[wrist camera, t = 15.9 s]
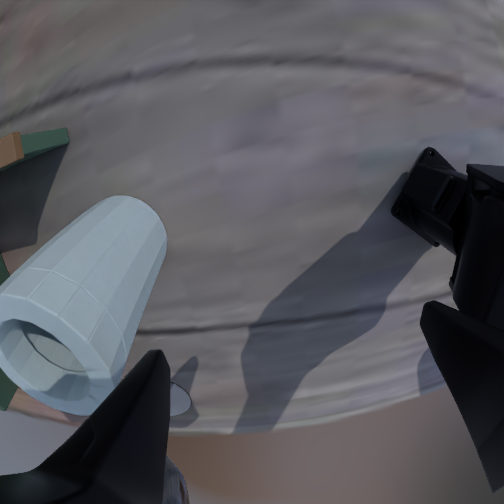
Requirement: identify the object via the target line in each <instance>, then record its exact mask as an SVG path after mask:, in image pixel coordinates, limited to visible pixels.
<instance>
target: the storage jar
mask: <svg viewBox="0 0 504 504" xmlns="http://www.w3.org/2000/svg"><path fill="white" fill-rule="evenodd" d="M166 250H167V235H166V231H165V228H164V225H163V223H162V221H161V219H160V218H159V216H158V215H157V214H156V212H155V211H154V210H153V209H152V208H151V207H150V206H148V205H147V204H146V203H144V202H143V201H141V200H139V199H136V198H134V197H130V196H123V195H119V196H112V197H108V198H106V199H104V200H102V201H100V202H99V203H96V204H95V205H93V206H92V207H91V208H89V209H88V210H87V211H85V212H84V213H83V214H82V215H80V216H79V217H78V218H76V219H75V220H74V221H73V222H71V223H70V224H69V225H68V226H66V227H65V228H64V229H63V230H61V231H60V232H59V233H58V234H56V235H55V236H54V237H53V238H52V239H51V240H49V241H48V242H47V243H46V244H45V245H43V246H42V247H41V248H40V249H39V250H38V251H37V252H36V253H34V254H33V255H32V256H31V257H30V258H29V259H28V260H27V261H26V262H24V263H23V264H22V265H21V266H20V267H19V268H18V269H17V270H16V271H15V272H14V273H13V274H12V275H11V276H10V277H9V278H8V279H7V280H6V281H5V282H4V283H3V284H2V285H1V286H0V368H1V369H2V370H3V371H4V373H5V374H6V375H7V376H8V377H9V378H10V379H11V380H12V381H13V382H14V383H15V384H16V385H18V386H19V387H20V388H21V389H22V390H24V391H25V392H26V393H27V394H29V395H30V396H32V397H33V398H35V399H37V400H39V401H40V402H42V403H44V404H46V405H48V406H50V407H52V408H55V409H57V410H60V411H64V412H67V413H71V414H75V415H91V414H92V413H93V412H94V411H95V410H96V409H97V408H98V406H99V405H100V404H101V403H102V402H103V401H104V400H105V399H106V397H107V396H108V395H109V394H110V393H111V392H112V391H113V390H114V389H115V387H116V386H117V385H118V384H119V382H120V379H121V376H122V373H123V370H124V366H125V363H126V360H127V357H128V354H129V351H130V348H131V345H132V342H133V340H134V337H135V334H136V331H137V328H138V325H139V323H140V320H141V317H142V314H143V312H144V309H145V306H146V304H147V301H148V298H149V296H150V293H151V290H152V288H153V285H154V283H155V280H156V278H157V275H158V273H159V270H160V268H161V265H162V263H163V260H164V258H165V255H166Z"/></svg>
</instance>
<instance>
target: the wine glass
mask: <svg viewBox="0 0 504 504" xmlns="http://www.w3.org/2000/svg"><path fill="white" fill-rule="evenodd" d="M190 405H191V399H190V396H189V395H188V393H187V392H186V391H185V390H184V389H182V388H181V387H179V386H178V385H176V384H174V383H172V382H170V416H174V415H179V414H182V413H184V412H186V411H187V410H188V409H189V407H190ZM163 504H190V503H189V497H188V491H187V487H186V483H185V480H184V477H183V475H182V474H181V472H180V471H179V469H178V468H177V467H176V466H175V464H174V463H173V462H172V461H171V460H170V459H169V458H168V456H167V455H166V463H165V475H164V489H163Z"/></svg>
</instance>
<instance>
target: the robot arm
mask: <svg viewBox="0 0 504 504" xmlns="http://www.w3.org/2000/svg"><path fill="white" fill-rule="evenodd" d="M430 152H431V156H430ZM466 172H467V173H468V176H467V175H464V174H462V173H459V172H457V171H456V170H455V169H454V168H453V167H452V166H451V165H450V164H449V163H448V162H447V161H446V160H445V159H444V158H443V157H442V156H441V155H440V154H439V153H438V152H437V151H436V150H435V149H434V148H431V147H428V148H426V149H425V151H424V153H423V155H422V157H421V158H420V160H419V162H418V164H417V165H416V166H415V168H414V170H413V172H412V173H411V175H410V177H409V179H408V180H407V182H406V184H405V186H404V187H403V190H402V192H401V194H400V195H399V197H398V199H397V200H396V202H395V204H394V205H393V207H392V209H391V213H392V215H393V216H394V217H396V218H397V219H398V220H400V221H401V222H403V223H404V224H405V225H407V226H408V227H409V228H411V229H412V230H413V231H415V232H416V233H417V234H419V235H420V236H421V237H423V238H424V239H425V240H427V241H428V242H429V243H431V244H432V245H433V246H434V247H438V246H439V245H440V244H441V245H442V246H443V247H445V248H446V249H447V250H449V251H450V252H451V253H453V254H454V255H455V256H456V261H455V265H454V270H453V274H452V277H450V281H449V286H450V288H451V290H452V292H453V300H454V302H455V303H456V305H457V307H458V309H459V311H458V310H456V309H454V308H451V307H449V306H447V305H444V304H442V303H440V302H437V301H430V302H427V303H425V304H424V306H423V310H422V315H421V319H420V327H421V329H422V332H423V334H424V336H425V338H426V341H427V343H428V346H429V348H430V350H431V353H432V355H433V358H434V360H435V362H436V364H437V366H438V368H439V370H440V372H441V374H442V375H443V377H444V379H445V381H446V383H447V385H448V387H449V389H450V391H451V393H452V395H453V397H454V400H455V402H456V404H457V406H458V408H459V410H460V412H461V415H462V417H463V419H464V421H465V424H466V426H467V428H468V430H469V433H470V435H471V438H472V440H473V442H474V445H475V447H476V449H477V452H478V455H479V457H480V460H481V463H482V466H483V468H484V471H485V474H486V477H487V480H488V483H489V486H490V489H491V491H492V493H495V492H496V491H498V490H499V489H500V488H502V487H503V486H504V166H494V165H479V164H467V169H466ZM398 209H399V212H398V213H396V211H397V210H398ZM170 374H171V373H170V367H169V364H168V362H167V360H166V358H165V355H164V353H163V351H162V350H160V349H158V350H150V351H148V352H147V353H146V354H145V355H144V357H143V358H142V359H141V360H140V361H139V362H138V363H137V364H136V365H135V366H134V368H133V369H132V370H131V371H130V372H129V373H128V374H127V375H126V376H125V378H124V379H123V380H122V381H121V382H120V383H119V384H118V385H117V386H116V387H115V389H114V390H113V391H112V392H111V393H110V394H109V395H108V396H107V397H106V399H105V400H104V401H103V402H102V403H101V404H100V405H99V406H98V408H97V409H96V410H95V411H94V412H93V413H92V414H91V415H90V416H89V419H87V420H86V421H85V422H84V423H83V424H82V425H81V426H80V427H79V428H78V430H77V431H76V432H75V433H74V434H73V435H72V436H71V437H70V438H69V439H68V440H67V441H66V442H65V443H64V444H63V445H61V446H60V447H59V448H58V449H57V450H56V451H55V452H54V453H53V454H52V455H50V456H49V457H48V458H47V459H46V460H45V461H44V462H43V463H42V464H40V465H39V466H38V467H36V468H35V469H33V470H31V471H28V472H24V473H18V474H11V475H2V476H0V504H163V489H164V475H165V463H166V451H167V440H168V431H169V422H170Z"/></svg>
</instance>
